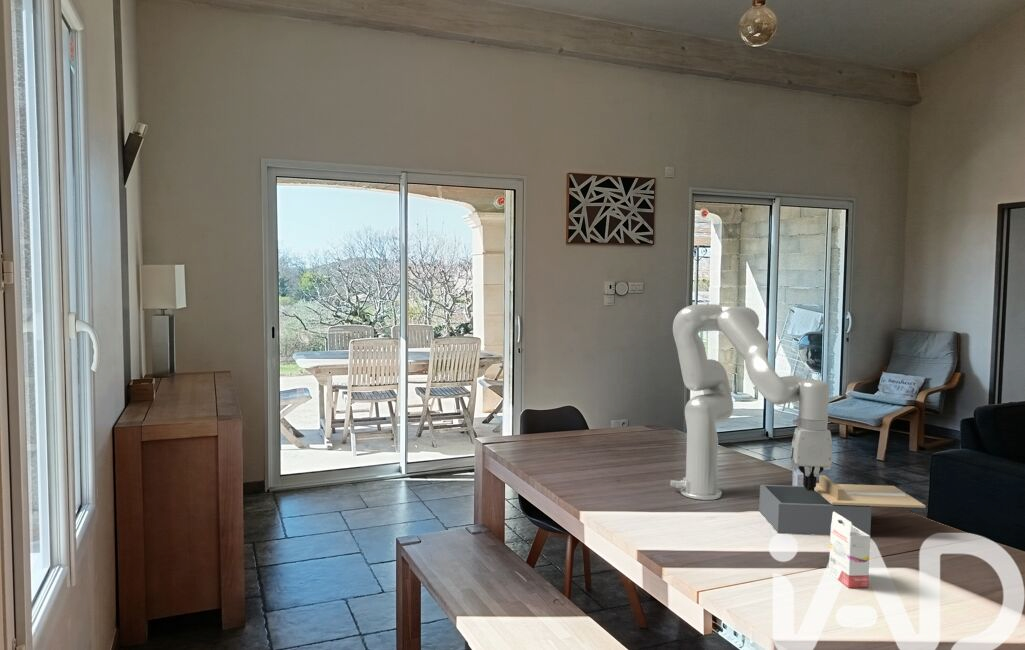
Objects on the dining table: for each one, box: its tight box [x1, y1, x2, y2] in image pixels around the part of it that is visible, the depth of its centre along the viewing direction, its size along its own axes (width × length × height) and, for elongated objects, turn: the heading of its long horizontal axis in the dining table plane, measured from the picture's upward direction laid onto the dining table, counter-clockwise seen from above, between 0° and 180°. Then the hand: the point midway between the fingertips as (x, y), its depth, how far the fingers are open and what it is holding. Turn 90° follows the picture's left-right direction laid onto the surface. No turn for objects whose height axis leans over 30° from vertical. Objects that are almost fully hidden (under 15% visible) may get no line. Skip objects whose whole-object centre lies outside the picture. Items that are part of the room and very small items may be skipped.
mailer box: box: [758, 484, 872, 536], centre depth 197 cm, size 24×18×8 cm
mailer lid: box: [814, 474, 927, 509], centre depth 196 cm, size 24×18×4 cm
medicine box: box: [791, 468, 804, 486], centre depth 221 cm, size 8×4×9 cm, turn 168°
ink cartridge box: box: [828, 512, 871, 589], centre depth 159 cm, size 9×5×15 cm, turn 5°
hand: (809, 489), depth 197 cm, fingers closed
